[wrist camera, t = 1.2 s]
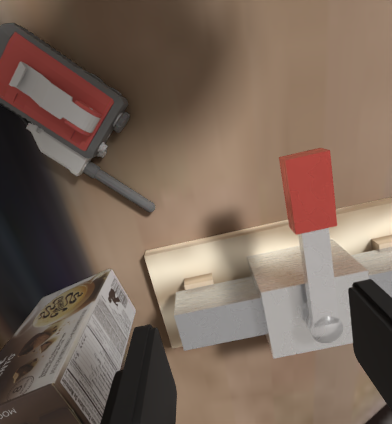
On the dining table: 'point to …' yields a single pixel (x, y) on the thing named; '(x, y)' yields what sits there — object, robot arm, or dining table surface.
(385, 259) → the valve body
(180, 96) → the dining table surface
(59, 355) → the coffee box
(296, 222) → the lever
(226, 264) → the valve board
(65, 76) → the walkie-talkie
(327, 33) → the dining table surface
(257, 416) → the dining table surface
